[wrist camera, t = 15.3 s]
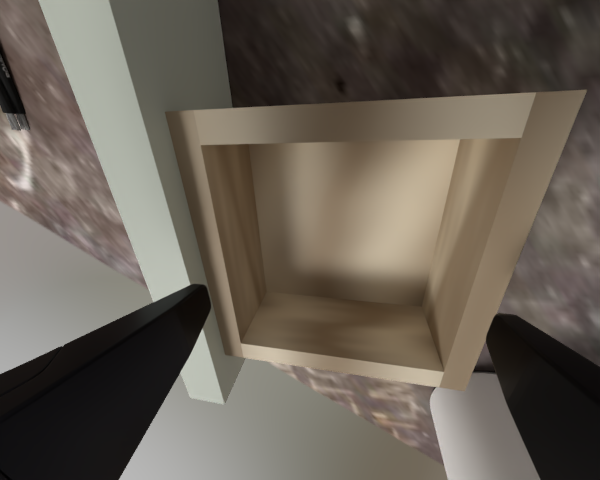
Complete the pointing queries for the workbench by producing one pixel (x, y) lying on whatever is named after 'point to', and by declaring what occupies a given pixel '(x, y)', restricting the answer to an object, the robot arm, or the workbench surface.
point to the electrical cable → (11, 100)
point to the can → (479, 432)
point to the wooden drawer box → (368, 224)
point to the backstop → (150, 136)
